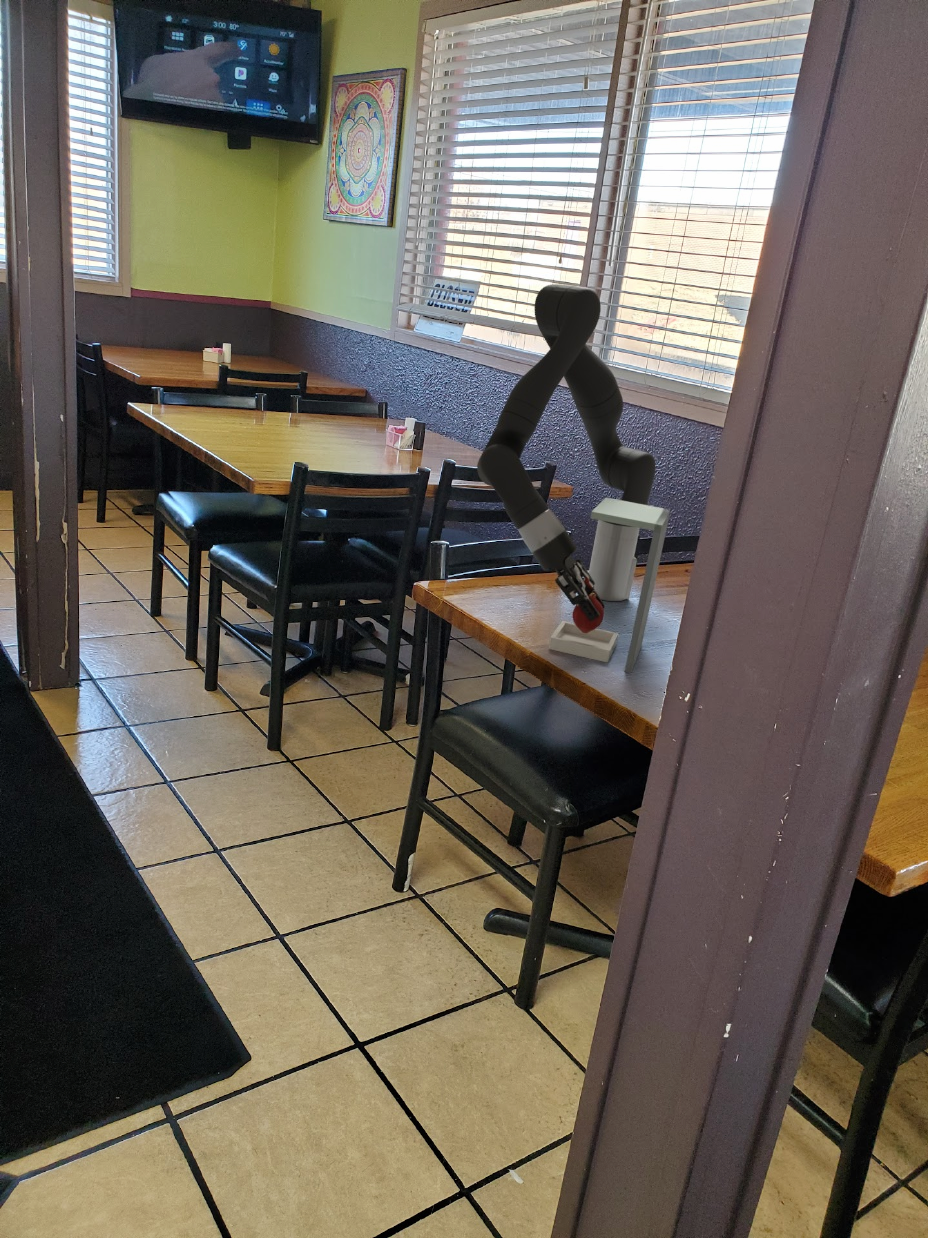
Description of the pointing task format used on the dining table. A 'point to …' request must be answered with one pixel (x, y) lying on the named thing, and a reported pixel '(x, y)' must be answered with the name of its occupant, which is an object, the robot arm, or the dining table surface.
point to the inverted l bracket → (658, 523)
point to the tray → (583, 642)
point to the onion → (582, 620)
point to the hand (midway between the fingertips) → (597, 613)
